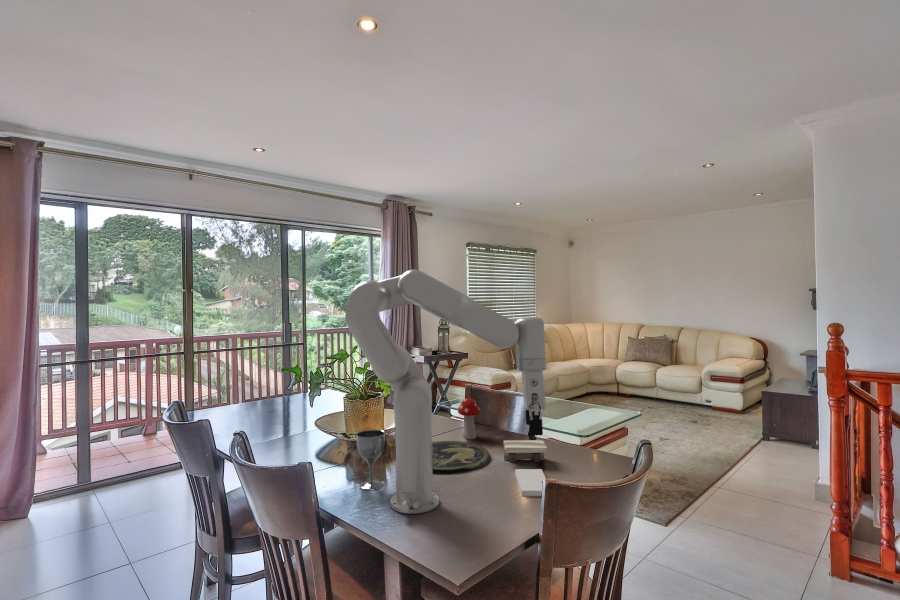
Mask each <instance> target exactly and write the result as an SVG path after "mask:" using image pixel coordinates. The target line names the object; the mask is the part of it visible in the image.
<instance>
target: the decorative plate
mask: <svg viewBox="0 0 900 600" xmlns="http://www.w3.org/2000/svg"><path fill="white" fill-rule="evenodd" d="M489 460H491V455H490V452H489V451H488V449H486V448H485V447H483V446H481V445H479V444H475V443H471V442H465V441H459V440H436V441H432V466H433V475H452V474H453V475H455V474H463V473H468V472H472V470H473V471H476V470H479V469H481V468H483V467H485V466H486V465H487V464H488V463H489V462H490V461H489ZM485 464H486V465H485ZM484 465H485V466H484ZM482 466H483V467H482ZM480 467H481V468H480ZM478 468H479V469H478ZM475 469H476V470H475Z"/></svg>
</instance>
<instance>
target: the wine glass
mask: <svg viewBox="0 0 900 600" xmlns="http://www.w3.org/2000/svg"><path fill="white" fill-rule="evenodd" d="M385 438H386V437H385V430H382V429H364V430H361V431H358V432H356V447H357V452H358V454H359V456H360V457H361V458H362V459H363V460H364V461H365V463H366V464H367V466H368V470H369V471H368V472H369V481H364V483H363V482H362V483H361V482H360V483H359V485H360V487H361V488H362V489H377V490H379V488H380V489H382V488H384V486H385V484H384V482H382V481H380V480H374V479H373V474H374V473H373V472H374V465H375V464H376V462H377V460H378V459H379V458H380V456H381V455H382V453H383V451H384V448H385V447H384V446H385ZM383 485H384V486H383ZM381 487H382V488H381Z"/></svg>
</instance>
